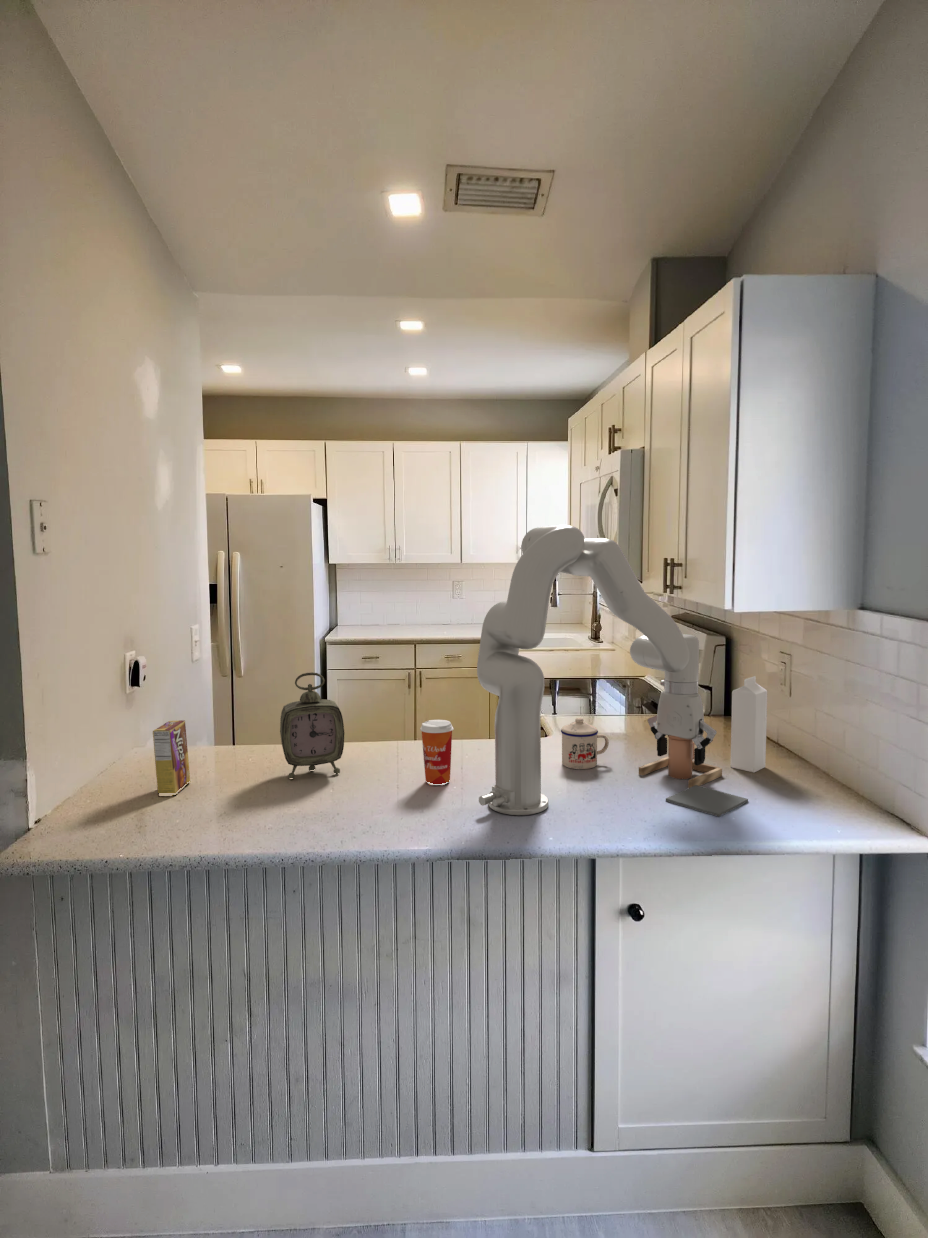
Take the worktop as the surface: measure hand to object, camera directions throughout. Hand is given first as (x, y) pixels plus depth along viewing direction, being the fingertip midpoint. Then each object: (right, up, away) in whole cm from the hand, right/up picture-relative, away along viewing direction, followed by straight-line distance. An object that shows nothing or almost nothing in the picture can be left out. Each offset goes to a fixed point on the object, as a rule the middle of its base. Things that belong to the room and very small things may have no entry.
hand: (680, 759), depth 162 cm
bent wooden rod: (0, -4, 0) cm, 4 cm away
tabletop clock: (-87, -5, +6) cm, 88 cm away
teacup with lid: (-21, -3, +10) cm, 23 cm away
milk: (+18, -3, +6) cm, 19 cm away
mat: (0, -5, -17) cm, 17 cm away
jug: (+1, -4, +1) cm, 4 cm away
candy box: (-117, -6, -4) cm, 117 cm away
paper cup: (-57, -5, -1) cm, 57 cm away
